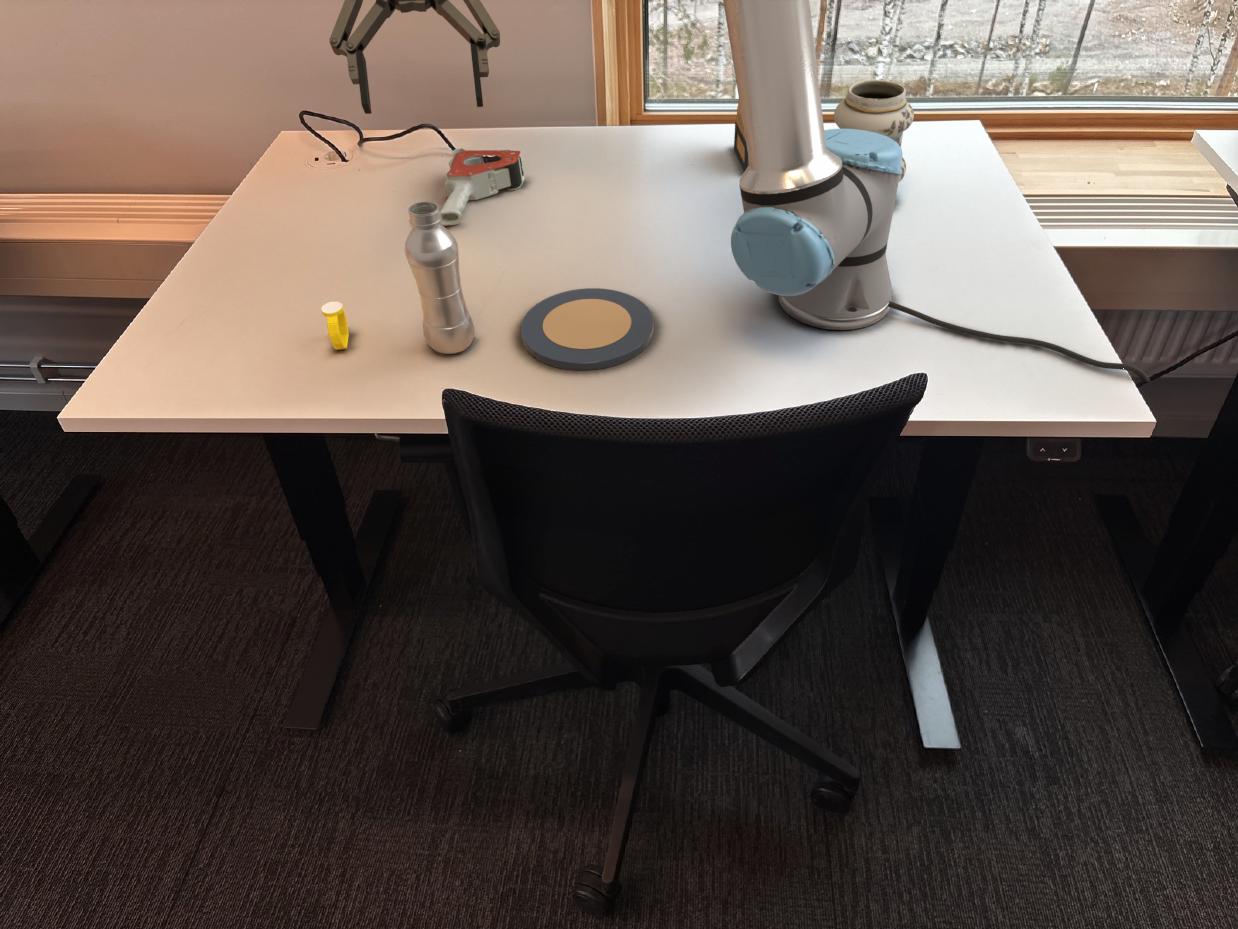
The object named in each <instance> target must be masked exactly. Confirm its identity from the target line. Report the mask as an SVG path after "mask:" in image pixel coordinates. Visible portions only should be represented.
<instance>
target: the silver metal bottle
mask: <svg viewBox="0 0 1238 929" xmlns="http://www.w3.org/2000/svg"><path fill="white" fill-rule="evenodd" d="M440 211H441V209H440V206H439V203H437V202H434V201H430V200H429V201H427V200H425V201H418V202H416V203H413V204H411V205H409V207H408V210H407V213H408V217H409V219H408V222H409V225H410V227H411V230H410V231H409V233H408V235H407V237H406V240H405V242H404V254H405V258H406V260H407V263H408V265H409V268H410V270H411V273H412V276H413V277H414V281H415V284H416V286H417V290H418V294H419V297H420V298H419V299H420V304H421V312H422V329H423V336H424V338H425V340H426V344H427V345H428V346H429V347H430V348H431V349H432V350H434V351H435V352H437V353H439V354H445V355H452V354H458V353H462V352H463V351H465V350H466V349H468V348H469V347H470V346H471V345H472V343H473V342H474V339H475V325H474V322H473V320H472V317H471V314H470V312H469V310H468V307H467V304H466V300H465V296H464V294H463V288H462V282H461V275H460V259H459V258H460V255H459V244H458V241H457V239H456V238H455V236H454V235H453V234H452V233H451V232H450V230H449V229H447V228H446V227H445V226H443V225H442V224H441V222H442V216H441V214H440Z"/></svg>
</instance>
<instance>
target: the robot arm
mask: <svg viewBox="0 0 1238 929" xmlns="http://www.w3.org/2000/svg"><path fill="white" fill-rule="evenodd" d="M462 1H463V2H464V4H465V5H466V7H467V9H468V10H469V12H470V14H471V15H472V16H473V18H474V21H475V22H476V24H478V26H479V28H480V29H481V31H482V32H481V31H480V30H479V29H478V28H477V27H476V26H475V25H474V24H473V23H472V22H471V21H470V20H469V19H468V18H467V17H466V16H465V15H464V14H463V13H462V12H461V11H460V10H459V9H458V8H457V7H456V6H455V5H454V4H453V3H452V2H451V1H450V0H375V2H374V3H373V5H372V7H371V8H370V10H368V12H367V13H366V15H365V16H364V18H362V21H361V22H359V24H358V26H357V27H356V29H355V30H354V31H353V29H354V26H355V23H356V21H357V19H358V16H359V13H360V12H361V11H360V10H361V8H362V5H363V3H364V0H344V1H343V4H342V7H341V9H340V11H339V14H338V16H337V19H336V21H335V25H334V27H333V30H332V32H331V35H330V37H329V39H328V40H329V41H328V42H329V45H330V47H331V49H332V52H333V54H334V55H336V56H344V57H346V60H347V69H348V76H349V79H350V82H351V83H352V85H359V93H360V103H361V107H362V109H363V112H364V114H365V115H370V114H372V106H371V105H372V104H371V96H370V87H369V78H368V70H367V69H368V68H367V59H366V57H365V55H364V51H365V49H366V48H367V47H368V45H369V44H370V43H371V41H372V40H373V39H374V37H375V36H376V34H377V33H378V32H379V30H380V29H381V27H382V26H383V25H384V24H385V22H386V20H387V19H390V18H391V17H392V15H393V14H394V12H395V11H396V10H397V11H399V12H400V13H401V14H404V13H410V12H413V11H414V12H419V13H424V12H428V10H429V9H431V8H432V9H433V11H434V12H435V13H437V15H439V16H441V17H443V19H444V20H445V21H446V22H448V24H449V25H450V26H451V27H452V28H453V29H455V31H456V32H457V33H458V34H459V35H460V36H461V37H462V38H464V40H465V41H466V42H467V43H468V44H470V55H471V62H472V73H473V82H474V83H473V84H474V91H475V100H476V102H475V103H476V107H477V108H483V107H484V100H483V91H482V81H481V78H488V77H489V74H490V67H489V58H488V51H489V50H490V49H492V48H498V47H499V46H500V45H501V32H500V30H499V28H498V27H497V25H496V23H495V22H494V21H493V19H492V17H491V15H490V14H489V12H488V11H487V9H486V7H485V6H484V4H483V2H482V1H481V0H462ZM722 3H723V4H722V5H723V9H724V15H725V21H726V22H725V23H726V27H727V33H728V40H729V45H730V53H731V59H732V64H733V70H734V71H733V72H734V76H735V83H736V90H737V94H738V101H740V108H741V114H742V120H743V126H744V132H745V138H746V144H747V150H748V156H749V162H750V163H749V166H748V167H747V169H746V170H745V172H744V171H743V173H742V175H741V176H740V177H739V180H738V181H739V184H738V185H739V190H740V197H741V203H742V209H743V213H742V214H741V215H740V216H739V217H738V219H737V221H736V222H735V224H734V227H733V228H732V231H731V234H730V249H731V253H732V256H733V259H734V261H735V263H736V266H737V267H738V268H739V270H740V271H741V273H742V274H743V275H744V276H745V278H746V279H748V280H749V281H752V282H754V283H755V285H756V287H758V288H760V289H761V290H763V291H765V292H767V293H770V294H773V295H775V296H778V303H779V305H780V307H781V308H782V310H783V311H784V312H785V314H787V315H789V317H791V318H793V319H794V320H796V321H798V322H800V323H802V324H805V325H807V326H811V327H814V328H818V329H823V330H831V331H848V330H850V331H851V330H857V329H862V328H865V327H868V326H871V325H874V324H876V323H877V322H879V321H881V320H882V319H883V318H884V317H885V316H886V315H887V314H888V313H889V311H890V309H894V310H897V311H899V312H902V313H905V314H907V315H910V316H913V317H915V318H917V319H919V320H922V321H925V322H927V323H929V324H933V325H935V326H938V327H941V328H944V329H947V330H950V331H953V332H958V333H960V334H964V335H969V336H973V337H977V338H981V339H987V340H992V341H997V342H1006V343H1014V344H1025V345H1029V346H1035V347H1040V348H1043V349H1048V350H1051V351H1054V352H1057V353H1059V354H1062V355H1064V356H1066V357H1069V358H1071V359H1074V360H1076V361H1078V362H1081V363H1084V364H1086V365H1089V366H1093V367H1096V368H1100V369H1108V370H1120V371H1121V370H1122V371H1128V372H1131V373H1133V374H1135V375H1136V376H1138V378H1139V379H1140V380H1141V381H1143V382H1145V383H1148V382H1150V381H1151V379H1150V378H1149V376H1148V374H1146V372H1145V371H1143V369H1141V368H1139V367H1138V366H1136V365H1132V364H1128V363H1120V362H1119V363H1118V362H1107V361H1100V360H1096V359H1093V358H1090V357H1087V356H1084V355H1082V354H1080V353H1077V352H1075V351H1072V350H1070V349H1068V348H1066V347H1063V346H1060V345H1059V344H1058V345H1057V344H1055V343H1052V342H1048V341H1044V340H1041V339H1034V338H1029V337H1021V336H1010V335H1002V334H995V333H991V332H986V331H980V330H977V329H972V328H968V327H964V326H960V325H958V324H957V325H956V324H954V323H949V322H946V321H943V320H941V319H938V318H935V317H933V316H930V315H927V314H925V313H923V312H920V311H918V310H915V309H913V308H910V307H908V306H905V305H902V304H899V303H897V302H893V301H892V299H893V287H892V281H891V276H890V270H889V265H888V259H887V249H888V248H887V247H888V241H889V237H890V232H891V227H892V221H893V215H894V210H895V204H896V199H897V193H898V188H899V183H900V182H899V178H900V174H901V173H902V169H901V163H902V157H903V150H902V146H901V147H900V146H899V144H898V143H897V142H895V141H894V140H892V139H891V138H889V137H887V136H884V135H881V134H878V133H875V132H870V131H865V130H858V129H840V128H830V129H825V125H824V117H823V110H822V108H823V107H822V100H821V98H822V97H821V91H820V82H819V72H818V65H817V54H816V46H815V39H814V38H815V37H814V27H813V20H812V10H811V2H810V0H722ZM352 31H353V33H352ZM1123 368H1124V369H1123Z"/></svg>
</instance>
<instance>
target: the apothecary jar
mask: <svg viewBox="0 0 1238 929" xmlns="http://www.w3.org/2000/svg"><path fill="white" fill-rule="evenodd" d="M906 95H907V91H906V88H905V86H904V85H903V84H900V83H898V82H895V81H892V80H885V79H867V80H866V79H865V80H861V81H858V82H855V83H853V84H852V85H850V86H849V88H848V89H847V94H846V96H845V98H844V99H842V100H841V101H840V102H839V103H838V104H837V106H836V107H835V109H834V112H833V119H834V123H835V124H836V126H837V128H838V129H858V130H865V131H870V132H875V133H878V134H881V135H884V136H887V137H889V138H891V139H892V140H894V141H895V142H897V143H898V144H899V146H900V147H901V148H902V142H903V137H904V136H903V135H904V132H906V131H907V130H908V129H909V128H910V126H912V124H913V122H914V118H915V112H914V109H913V106H912V105H911V104H910V102H908V101H907V96H906ZM901 169H902V173H901V174H900V178H899V183H900V182H901V181H903V179H904V178H905V176H906V173H907V163H906V161H905V158H904V157H903V156H902V163H901Z"/></svg>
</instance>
